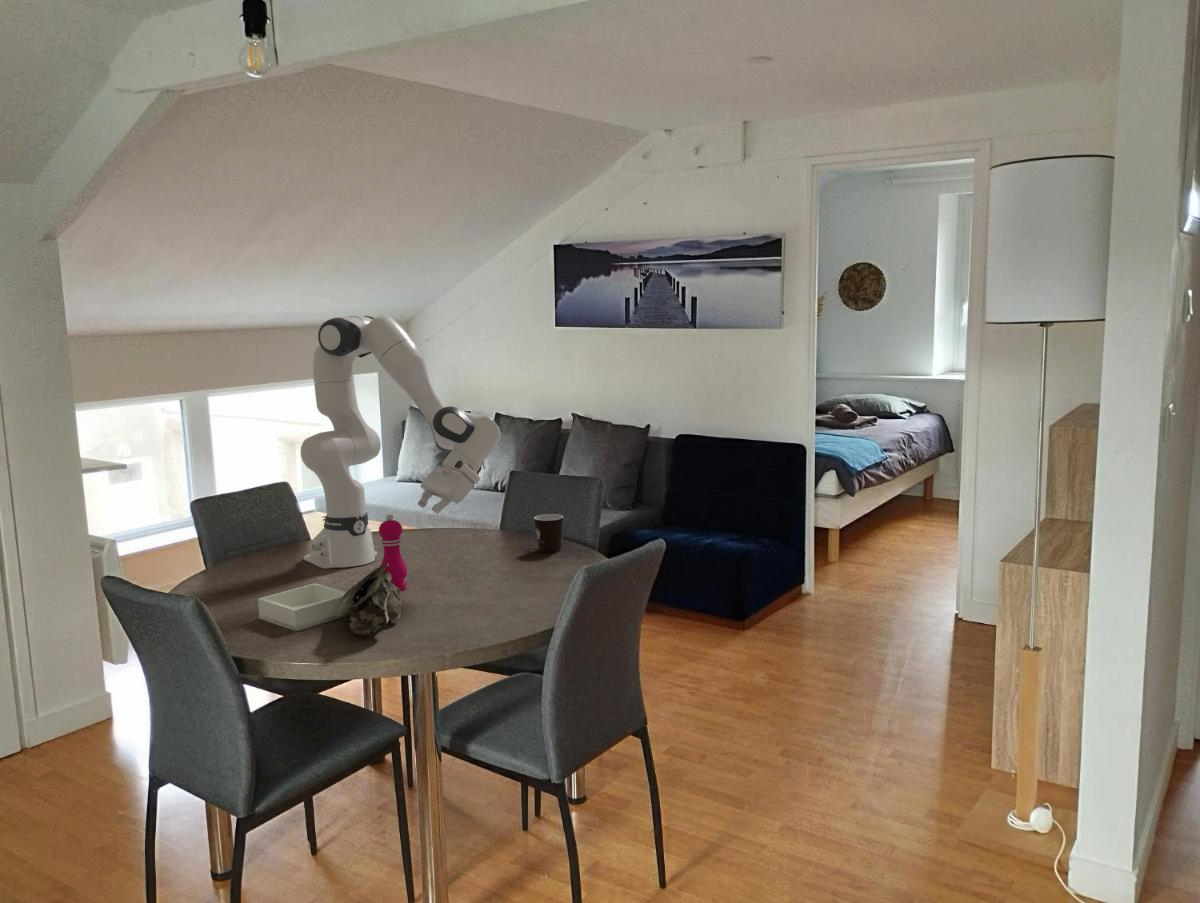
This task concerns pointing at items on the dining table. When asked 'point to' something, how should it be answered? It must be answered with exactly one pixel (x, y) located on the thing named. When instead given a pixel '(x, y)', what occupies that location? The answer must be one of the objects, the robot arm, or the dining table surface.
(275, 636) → the dining table surface
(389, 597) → the hollow geode rock
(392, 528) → the pepper mill
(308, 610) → the tray
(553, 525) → the dark brown cup
